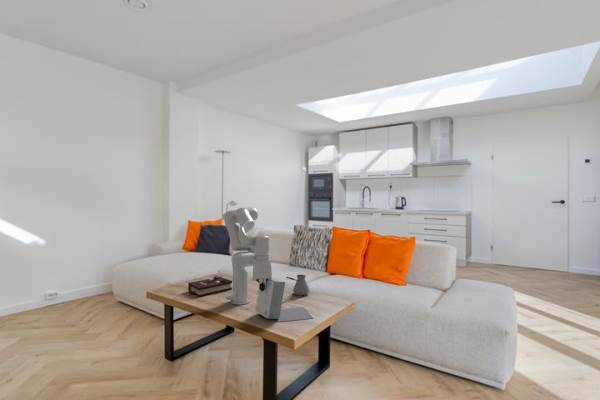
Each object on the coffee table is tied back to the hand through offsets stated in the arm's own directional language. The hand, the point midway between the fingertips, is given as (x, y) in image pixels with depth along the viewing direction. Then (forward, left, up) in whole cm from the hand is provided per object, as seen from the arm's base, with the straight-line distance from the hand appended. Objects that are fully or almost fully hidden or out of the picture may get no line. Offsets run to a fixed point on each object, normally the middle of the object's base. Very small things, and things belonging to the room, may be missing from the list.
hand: (262, 290), depth 173 cm
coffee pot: (+29, +32, -15) cm, 46 cm away
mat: (+17, 0, -15) cm, 23 cm away
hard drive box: (+3, 0, -14) cm, 15 cm away
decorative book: (-28, +60, -16) cm, 68 cm away
